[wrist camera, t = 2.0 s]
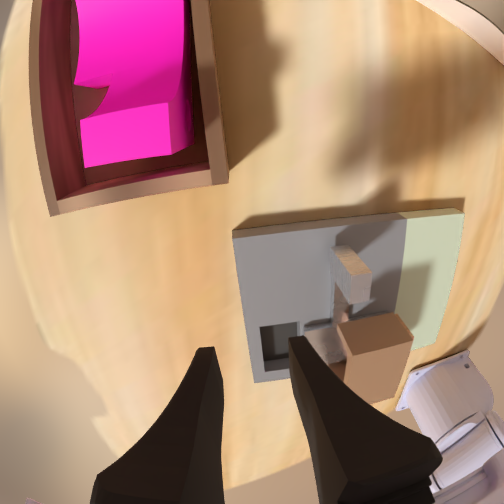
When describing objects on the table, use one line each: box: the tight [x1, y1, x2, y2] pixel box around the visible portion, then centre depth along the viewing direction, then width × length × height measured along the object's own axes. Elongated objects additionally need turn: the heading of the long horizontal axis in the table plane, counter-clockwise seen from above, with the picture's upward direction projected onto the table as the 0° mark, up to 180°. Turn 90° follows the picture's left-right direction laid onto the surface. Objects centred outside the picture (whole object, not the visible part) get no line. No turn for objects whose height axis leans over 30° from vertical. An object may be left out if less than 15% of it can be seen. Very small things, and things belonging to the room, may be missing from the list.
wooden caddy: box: [29, 0, 229, 217], centre depth 12 cm, size 11×20×4 cm, turn 6°
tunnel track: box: [232, 208, 465, 404], centre depth 19 cm, size 18×13×6 cm
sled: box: [303, 244, 414, 372], centre depth 19 cm, size 8×10×4 cm
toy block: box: [74, 0, 195, 168], centre depth 10 cm, size 15×6×8 cm, turn 2°
